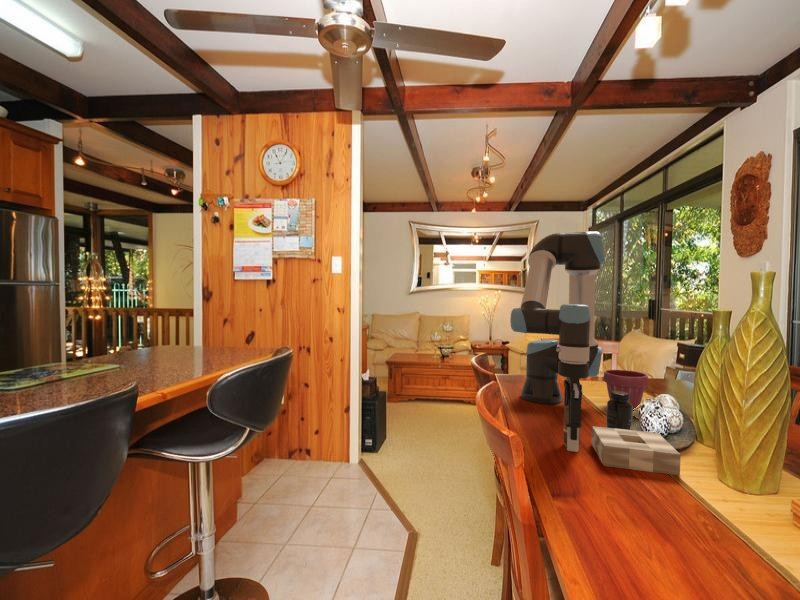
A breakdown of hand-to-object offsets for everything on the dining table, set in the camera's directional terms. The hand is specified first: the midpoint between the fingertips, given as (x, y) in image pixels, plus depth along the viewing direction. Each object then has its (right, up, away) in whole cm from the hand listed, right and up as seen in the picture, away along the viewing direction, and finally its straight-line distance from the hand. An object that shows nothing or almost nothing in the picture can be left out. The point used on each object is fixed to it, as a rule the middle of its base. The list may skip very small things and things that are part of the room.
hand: (571, 447), depth 103 cm
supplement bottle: (+20, -1, +13) cm, 24 cm away
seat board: (+13, -1, -6) cm, 14 cm away
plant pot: (+37, 0, +38) cm, 53 cm away
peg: (0, 0, 0) cm, 0 cm away
